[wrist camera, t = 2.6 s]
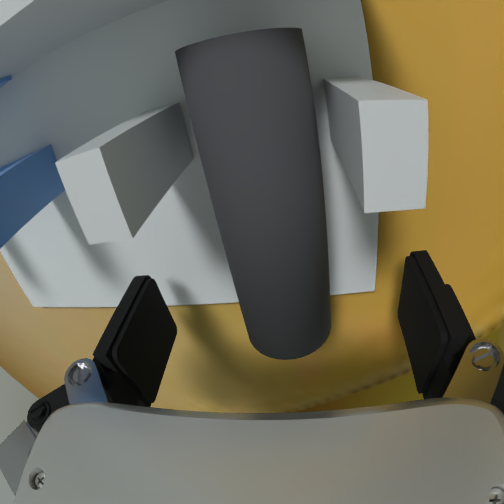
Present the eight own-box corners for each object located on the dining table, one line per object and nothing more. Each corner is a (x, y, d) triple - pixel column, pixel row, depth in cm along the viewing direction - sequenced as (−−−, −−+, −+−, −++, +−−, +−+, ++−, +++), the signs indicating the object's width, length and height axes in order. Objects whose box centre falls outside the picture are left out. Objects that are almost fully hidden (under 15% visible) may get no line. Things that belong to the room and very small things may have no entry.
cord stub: (187, 53, 8) (159, 51, 6) (293, 34, 8) (313, 23, 5) (248, 304, 14) (248, 364, 11) (322, 292, 13) (338, 351, 11)
